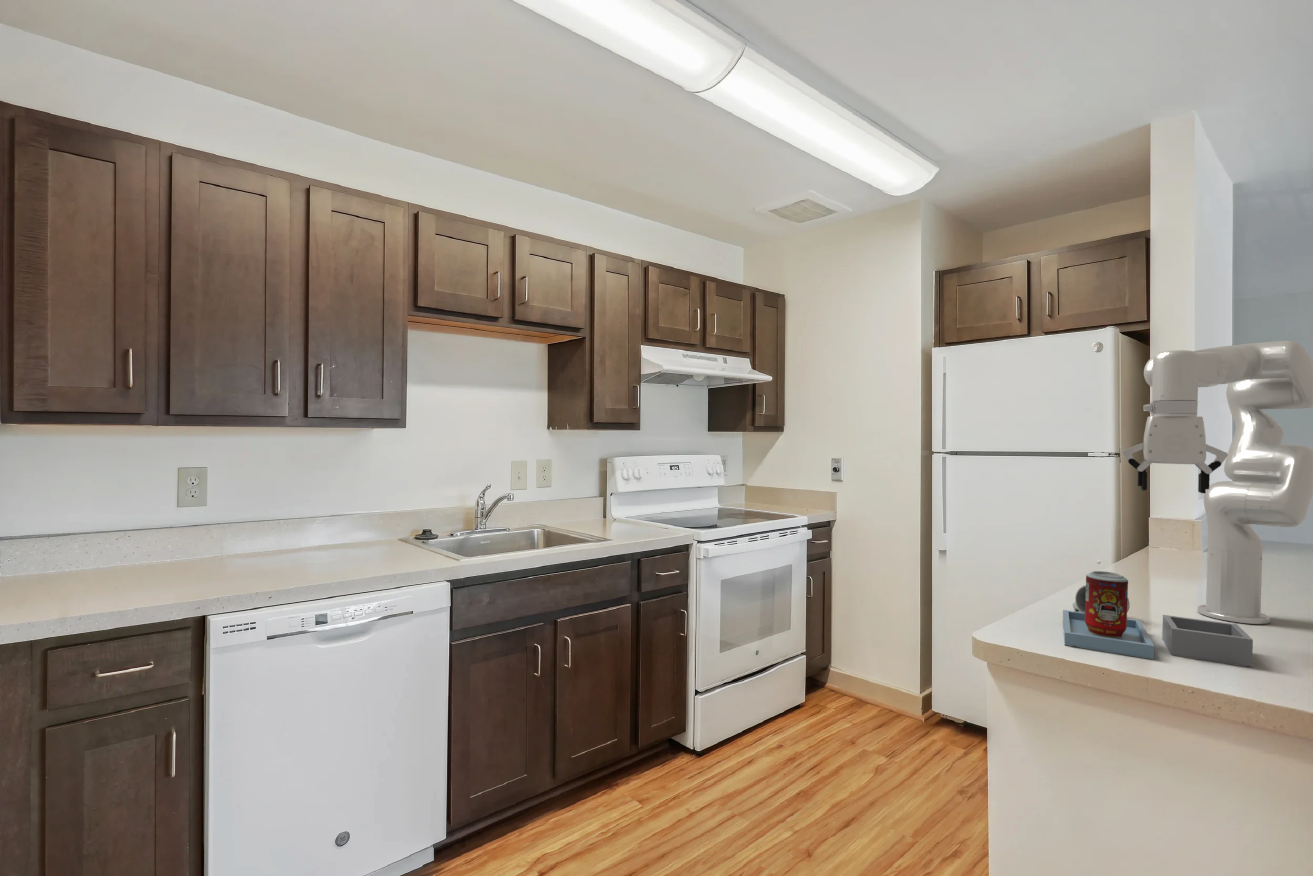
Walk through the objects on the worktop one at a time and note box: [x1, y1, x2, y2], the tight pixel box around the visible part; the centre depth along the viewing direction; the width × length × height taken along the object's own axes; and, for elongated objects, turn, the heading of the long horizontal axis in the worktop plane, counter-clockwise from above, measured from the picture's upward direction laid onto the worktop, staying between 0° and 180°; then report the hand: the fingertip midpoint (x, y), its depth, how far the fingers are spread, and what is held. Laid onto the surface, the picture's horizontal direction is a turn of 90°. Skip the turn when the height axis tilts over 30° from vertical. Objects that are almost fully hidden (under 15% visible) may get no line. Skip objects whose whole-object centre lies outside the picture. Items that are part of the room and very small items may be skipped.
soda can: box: [1085, 570, 1129, 638], centre depth 132 cm, size 7×7×12 cm
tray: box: [1062, 609, 1155, 660], centre depth 132 cm, size 20×14×2 cm
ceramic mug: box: [1072, 584, 1130, 613], centre depth 149 cm, size 11×8×8 cm
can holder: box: [1161, 614, 1254, 668], centre depth 125 cm, size 12×12×5 cm
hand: (1172, 491), depth 136 cm, fingers open, 9 cm apart
